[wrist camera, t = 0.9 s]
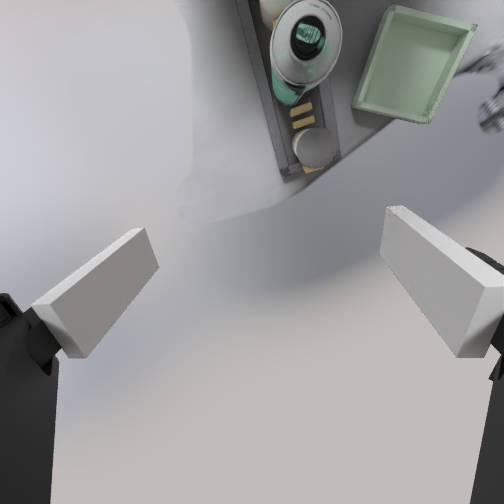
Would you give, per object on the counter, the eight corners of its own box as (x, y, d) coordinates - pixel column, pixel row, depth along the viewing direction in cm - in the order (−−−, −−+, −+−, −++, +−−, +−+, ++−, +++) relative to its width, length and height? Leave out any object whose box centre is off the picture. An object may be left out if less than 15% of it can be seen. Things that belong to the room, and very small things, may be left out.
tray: (383, 13, 30) (392, 3, 27) (462, 32, 30) (478, 25, 28) (350, 107, 34) (355, 106, 32) (419, 124, 34) (429, 123, 32)
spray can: (313, 101, 34) (354, 70, 17) (275, 110, 35) (275, 91, 18) (310, 54, 32) (352, -41, 14) (269, 65, 33) (261, -11, 15)
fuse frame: (233, -8, 30) (224, -38, 25) (307, -45, 28) (314, -86, 23) (281, 175, 39) (282, 182, 34) (339, 157, 37) (349, 161, 32)
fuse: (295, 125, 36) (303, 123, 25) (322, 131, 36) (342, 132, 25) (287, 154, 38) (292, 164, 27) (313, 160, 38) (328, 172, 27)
